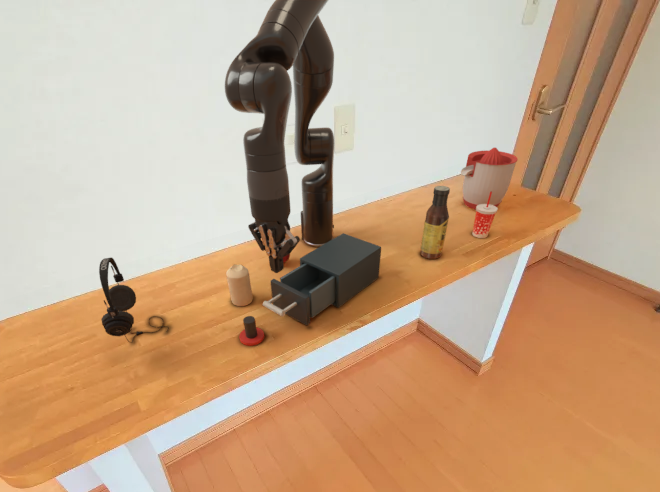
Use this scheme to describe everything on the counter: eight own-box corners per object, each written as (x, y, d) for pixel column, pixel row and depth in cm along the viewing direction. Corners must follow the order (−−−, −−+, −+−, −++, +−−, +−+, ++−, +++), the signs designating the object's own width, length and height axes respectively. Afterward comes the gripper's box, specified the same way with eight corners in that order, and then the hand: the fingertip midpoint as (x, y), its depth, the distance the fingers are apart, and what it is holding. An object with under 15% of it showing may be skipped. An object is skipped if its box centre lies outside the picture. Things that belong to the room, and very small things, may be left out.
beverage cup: (481, 228, 125) (492, 186, 116) (494, 236, 121) (507, 193, 112) (465, 232, 124) (475, 189, 115) (477, 240, 119) (489, 196, 110)
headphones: (169, 351, 85) (141, 275, 72) (115, 363, 83) (77, 287, 70) (168, 312, 96) (144, 240, 84) (121, 321, 94) (89, 249, 81)
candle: (235, 308, 96) (229, 275, 90) (228, 297, 100) (222, 264, 94) (256, 302, 98) (251, 268, 92) (248, 291, 102) (243, 258, 96)
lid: (234, 338, 87) (231, 320, 84) (253, 326, 91) (250, 308, 87) (250, 349, 84) (247, 331, 81) (269, 336, 88) (266, 318, 84)
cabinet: (338, 308, 95) (338, 275, 89) (301, 289, 102) (299, 258, 96) (378, 277, 105) (381, 246, 99) (342, 263, 112) (343, 232, 106)
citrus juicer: (446, 198, 146) (457, 143, 133) (490, 195, 147) (505, 139, 134) (464, 215, 133) (478, 156, 121) (512, 211, 134) (530, 152, 122)
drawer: (291, 337, 86) (288, 310, 81) (257, 317, 92) (253, 290, 87) (350, 293, 98) (351, 267, 93) (317, 278, 104) (316, 253, 99)
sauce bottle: (442, 260, 111) (456, 193, 98) (419, 259, 112) (430, 192, 99) (440, 249, 116) (453, 184, 103) (419, 248, 117) (429, 183, 104)
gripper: (308, 192, 69) (311, 273, 80) (259, 177, 76) (268, 254, 87) (279, 205, 65) (286, 289, 76) (230, 188, 72) (243, 267, 83)
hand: (277, 270), depth 81 cm, fingers closed
